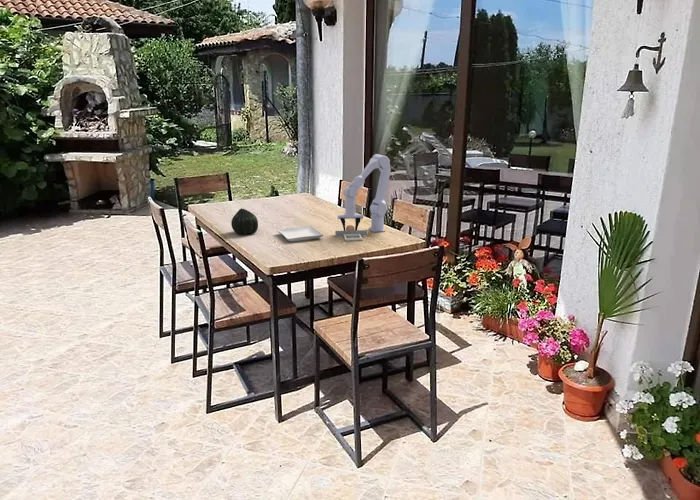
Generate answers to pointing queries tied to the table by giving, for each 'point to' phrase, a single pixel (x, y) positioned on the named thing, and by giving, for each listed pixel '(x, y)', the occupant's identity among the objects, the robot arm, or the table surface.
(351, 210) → the robot arm
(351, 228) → the ball
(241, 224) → the squash
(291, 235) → the salad plate
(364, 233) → the low wall
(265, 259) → the table surface
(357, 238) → the white square tray
